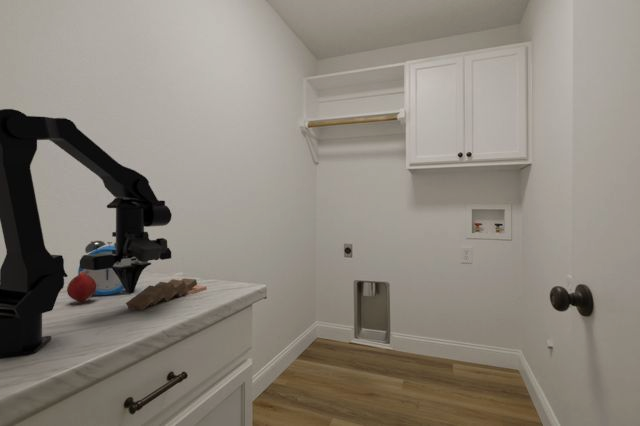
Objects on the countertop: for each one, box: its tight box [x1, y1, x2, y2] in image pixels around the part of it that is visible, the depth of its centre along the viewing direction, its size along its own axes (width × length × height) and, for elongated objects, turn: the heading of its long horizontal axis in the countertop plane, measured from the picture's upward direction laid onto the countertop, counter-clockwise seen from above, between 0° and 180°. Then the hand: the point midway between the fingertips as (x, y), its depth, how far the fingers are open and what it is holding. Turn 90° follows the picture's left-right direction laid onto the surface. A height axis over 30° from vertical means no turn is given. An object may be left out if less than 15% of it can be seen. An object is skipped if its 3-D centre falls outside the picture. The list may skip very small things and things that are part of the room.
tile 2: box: [149, 281, 174, 306], centre depth 79 cm, size 2×5×7 cm
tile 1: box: [125, 285, 164, 312], centre depth 76 cm, size 2×5×7 cm
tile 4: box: [173, 277, 198, 298], centre depth 87 cm, size 2×5×7 cm
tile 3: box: [159, 278, 186, 303], centre depth 83 cm, size 2×5×7 cm
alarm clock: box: [77, 240, 125, 297], centre depth 87 cm, size 13×6×15 cm, turn 110°
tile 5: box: [183, 284, 208, 296], centre depth 90 cm, size 2×5×7 cm
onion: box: [66, 271, 96, 303], centre depth 78 cm, size 6×6×8 cm
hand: (130, 293), depth 73 cm, fingers closed
